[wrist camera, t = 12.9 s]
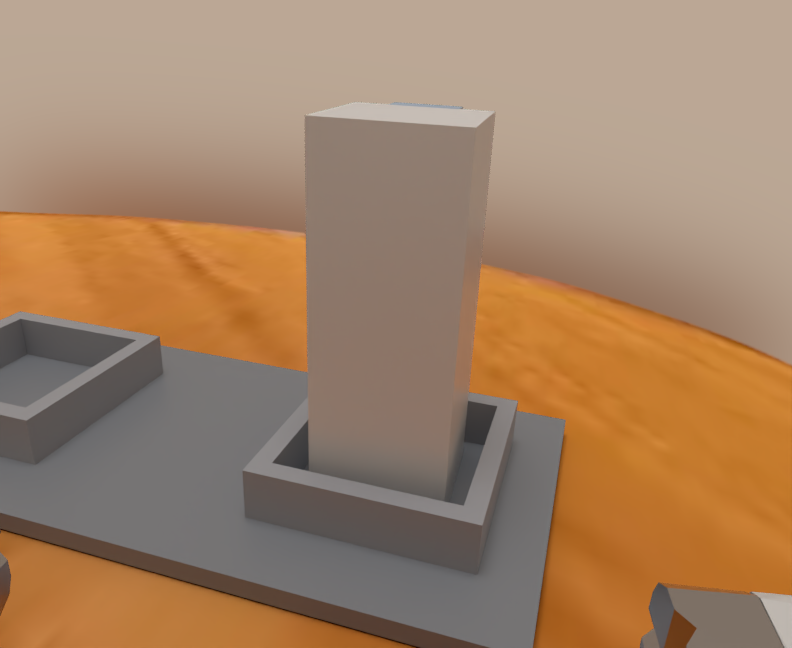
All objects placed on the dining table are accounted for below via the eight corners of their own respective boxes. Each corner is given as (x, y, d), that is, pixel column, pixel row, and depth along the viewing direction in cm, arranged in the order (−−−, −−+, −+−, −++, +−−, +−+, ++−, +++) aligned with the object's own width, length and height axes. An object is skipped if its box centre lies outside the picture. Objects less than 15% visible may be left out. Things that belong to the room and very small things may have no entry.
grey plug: (309, 501, 20) (304, 115, 16) (355, 421, 24) (362, 100, 20) (442, 527, 19) (475, 127, 15) (466, 440, 23) (498, 109, 19)
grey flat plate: (-228, 464, 22) (-251, 404, 21) (36, 333, 31) (27, 289, 30) (527, 677, 15) (539, 605, 15) (563, 433, 25) (572, 381, 24)
